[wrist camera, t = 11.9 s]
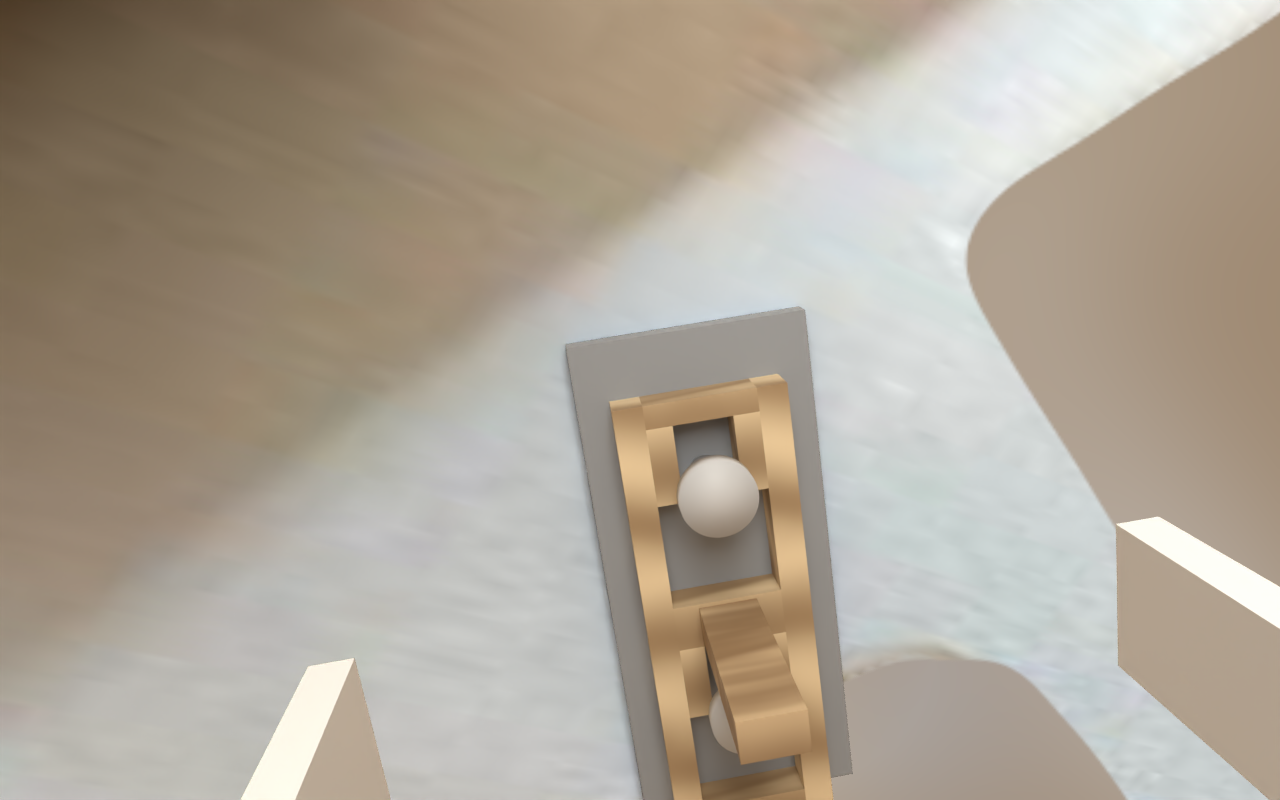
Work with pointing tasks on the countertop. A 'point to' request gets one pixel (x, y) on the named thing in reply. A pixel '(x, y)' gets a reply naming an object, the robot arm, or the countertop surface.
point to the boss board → (678, 537)
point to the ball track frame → (729, 598)
